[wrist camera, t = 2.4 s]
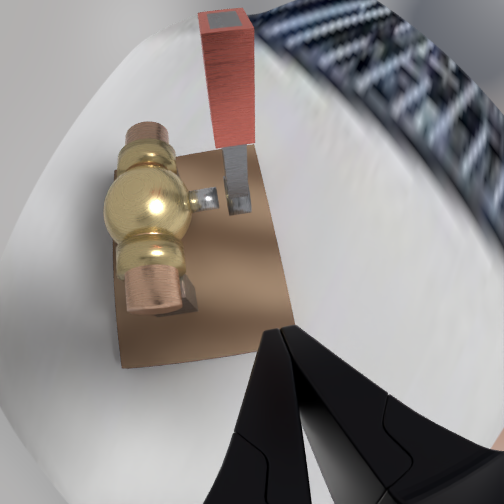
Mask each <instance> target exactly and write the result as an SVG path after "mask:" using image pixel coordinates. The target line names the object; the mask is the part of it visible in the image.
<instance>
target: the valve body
mask: <svg viewBox="0 0 504 504" xmlns="http://www.w3.org/2000/svg"><path fill="white" fill-rule="evenodd" d="M218 208H219V201H218V195H217V189H216V187H210V188H205V189H199V190H193V191H188V189H187V187H186V185H185V184H184V183H183V181H182V180H181V178H180V175H179V172H178V169H177V166H176V154H175V151H174V149H173V147H172V146H171V145H169V140H168V131H167V129H166V128H165V127H164V126H163V125H161V124H159V123H156V122H141V123H138V124H135V125H134V126H132V127H131V128H130V129H129V130H128V131H127V133H126V139H125V146H124V147H123V148H122V149H121V151H120V152H119V155H118V165H117V179H116V180H115V181H114V182H113V184H112V185H111V187H110V188H109V190H108V192H107V195H106V198H105V201H104V210H103V212H104V221H105V225H106V228H107V230H108V232H109V234H110V236H111V237H112V238H113V240H114V241H115V242H116V243H117V244H118V245H117V247H116V269H117V277H118V279H119V280H121V281H123V282H125V292H126V305H127V312H129V313H131V314H137V315H155V316H157V317H164V316H171V315H178V314H184V313H191V312H197V311H198V306H197V299H196V291H195V287H194V286H193V284H192V283H191V281H190V280H189V278H188V277H187V275H186V274H185V273H186V264H185V255H184V246H183V242H182V241H181V239H182V238H183V237H184V235H185V234H186V232H187V230H188V227H189V225H190V222H191V218H192V213H195V212H201V211H206V210H212V209H218Z"/></svg>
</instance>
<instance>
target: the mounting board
mask: <svg viewBox="0 0 504 504" xmlns="http://www.w3.org/2000/svg"><path fill="white" fill-rule="evenodd" d="M176 166H177V169H178V172H179V175H180V178H181V180H182V181H183V183H184V184H185V185H186V187H187V189H188V191H193V190H199V189H205V188H210V187H216V189H217V195H218V201H219V208H218V209H212V210H206V211H201V212H195V213H192V218H191V222H190V225H189V227H188V230H187V232H186V234H185V235H184V237H183V238H182V239H181V241H182V242H183V246H184V255H185V264H186V273H185V274H186V275H187V277H188V278H189V280H190V281H191V283H192V284H193V286H194V287H195V291H196V299H197V306H198V311H197V312H191V313H184V314H178V315H171V316H164V317H157V316H155V315H137V314H131V313H129V312H127V305H126V292H125V282H123V281H121V280H119V279H118V277H117V269H116V247H117V245H118V244H117V243H116V242H115V241H114V240H113V271H114V292H115V307H116V319H117V330H118V340H119V349H120V357H121V365H122V368H127V369H129V368H140V367H150V366H160V365H168V364H177V363H185V362H193V361H200V360H207V359H214V358H220V357H227V356H233V355H239V354H245V353H251V352H256V351H258V347H259V344H260V340H261V337H262V333H263V331H265V330H269V329H274V328H278V329H279V330H280V328H281V327H285V326H290V325H295V322H294V317H293V312H292V308H291V303H290V298H289V294H288V289H287V284H286V280H285V275H284V271H283V266H282V262H281V257H280V253H279V248H278V244H277V239H276V235H275V231H274V226H273V222H272V218H271V213H270V209H269V205H268V200H267V196H266V192H265V188H264V184H263V179H262V175H261V171H260V167H259V163H258V159H257V155H256V150H255V146H254V144H253V145H247V171H248V185H249V191H250V197H251V208H252V211H251V213H245V214H239V215H232V216H229V213H228V207H227V201H226V195H225V188H224V181H223V176H225V173H224V165H223V157H222V149H219V150H212V151H206V152H201V153H195V154H189V155H184V156H178V157H176ZM116 179H117V170H115V172H114V181H115V180H116Z"/></svg>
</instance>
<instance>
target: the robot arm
mask: <svg viewBox="0 0 504 504" xmlns="http://www.w3.org/2000/svg"><path fill="white" fill-rule="evenodd" d="M301 424H302V425H301ZM302 426H303V429H304V431H305V434H306V436H307V438H308V441H309V443H310V446H311V448H312V451H313V453H314V456H315V458H316V460H317V463H318V465H319V468H320V470H321V473H322V475H323V477H324V480H325V482H326V485H327V487H328V489H329V492H330V494H331V497H332V499H333V501H334V504H504V451H497V450H492V449H489V448H485V447H483V446H480V445H478V444H476V443H474V442H472V441H470V440H467V439H465V438H463V437H461V436H459V435H457V434H455V433H454V432H452V431H450V430H448V429H446V428H444V427H442V426H440V425H438V424H436V423H434V422H432V421H431V420H429V419H427V418H425V417H424V416H422V415H420V414H418V413H417V412H415V411H414V410H412V409H411V408H409V407H408V406H406V405H405V404H403V403H402V402H400V401H399V400H397V399H396V398H395V397H393V396H392V395H388V393H387V392H386V391H385V390H383V389H382V388H380V387H379V386H378V385H376V384H375V383H374V382H372V381H371V380H369V379H368V378H367V377H365V376H364V375H363V374H361V373H360V372H358V371H357V370H356V369H354V368H353V367H352V366H350V365H349V364H348V363H346V362H345V361H343V360H342V359H341V358H339V357H338V356H337V355H335V354H334V353H333V352H331V351H330V350H329V349H327V348H326V347H325V346H323V345H322V344H321V343H319V342H318V341H317V340H315V339H314V338H313V337H311V336H310V335H309V334H307V333H306V332H305V331H303V330H302V329H301V328H299V327H298V326H297V325H290V326H285V327H281V328H280V330H279V329H278V328H274V329H269V330H265V331H263V333H262V337H261V340H260V344H259V347H258V351H257V354H256V358H255V361H254V365H253V368H252V372H251V375H250V379H249V382H248V385H247V389H246V392H245V396H244V399H243V402H242V406H241V409H240V412H239V416H238V419H237V422H236V426H235V429H234V432H235V433H233V435H232V438H231V441H230V444H229V447H228V450H227V453H226V456H225V458H224V461H223V464H222V466H221V469H220V471H219V473H218V475H217V477H216V479H215V482H214V484H213V486H212V488H211V490H210V492H209V493H208V495H207V497H206V499H205V501H204V503H203V504H312V501H311V493H310V485H309V477H308V470H307V462H306V454H305V447H304V440H303V432H302Z"/></svg>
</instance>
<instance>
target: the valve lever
mask: <svg viewBox="0 0 504 504" xmlns="http://www.w3.org/2000/svg"><path fill="white" fill-rule="evenodd" d="M198 19H199V28H200V36H201V45H202V53H203V61H204V69H205V76H206V84H207V92H208V99H209V107H210V114H211V121H212V127H213V134H214V140H215V147H216V148H222V157H223V165H224V173H225V176H223V181H224V188H225V195H226V201H227V207H228V213H229V216H232V215H239V214H245V213H251V211H252V208H251V197H250V191H249V185H248V171H247V144H251V143H255V84H254V27H253V25H252V24H251V22H250V20H249V18H248V16H247V15H246V13H245V11H244V9H243V8H235V9H224V10H215V11H207V12H200V13H198Z"/></svg>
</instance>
